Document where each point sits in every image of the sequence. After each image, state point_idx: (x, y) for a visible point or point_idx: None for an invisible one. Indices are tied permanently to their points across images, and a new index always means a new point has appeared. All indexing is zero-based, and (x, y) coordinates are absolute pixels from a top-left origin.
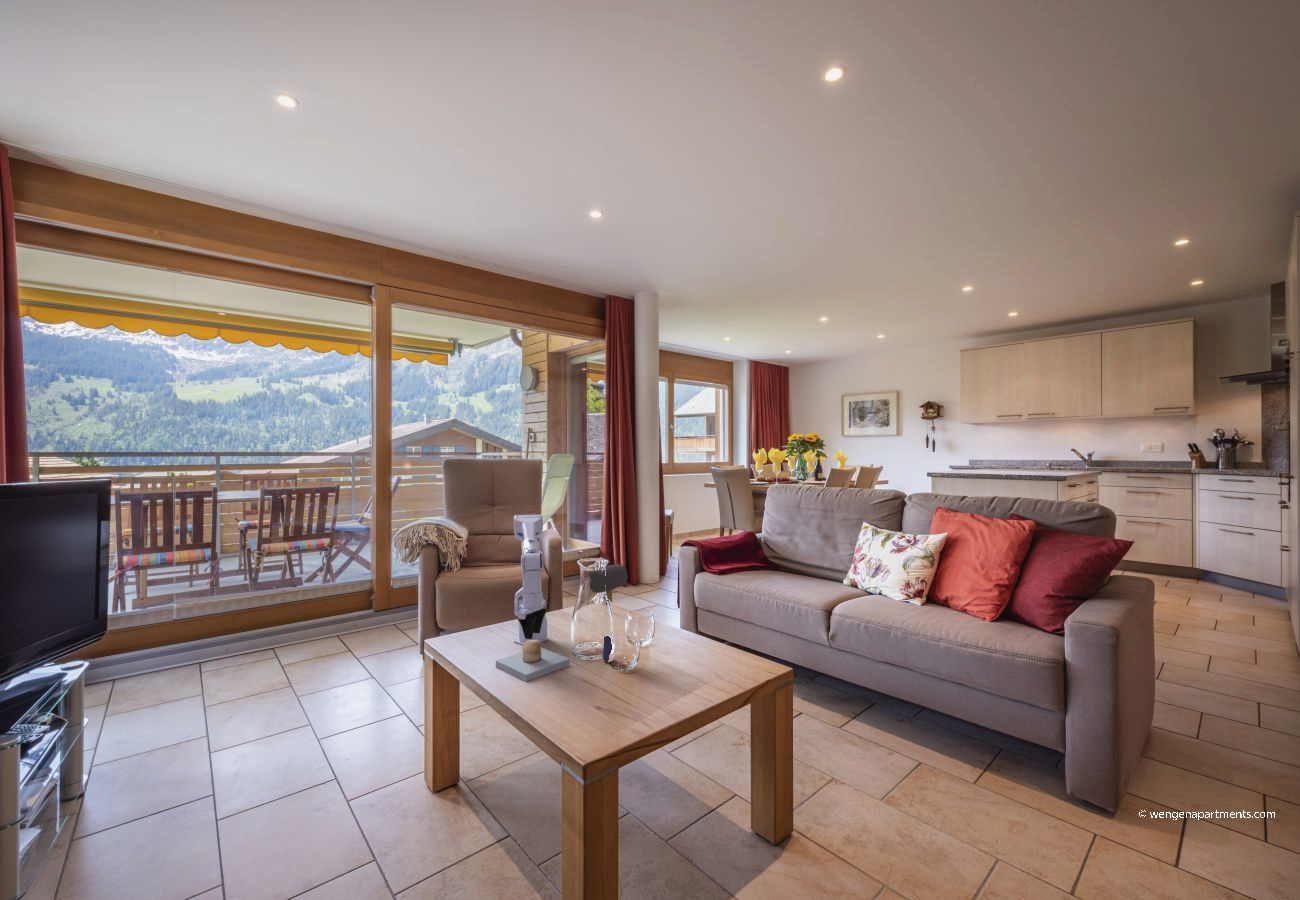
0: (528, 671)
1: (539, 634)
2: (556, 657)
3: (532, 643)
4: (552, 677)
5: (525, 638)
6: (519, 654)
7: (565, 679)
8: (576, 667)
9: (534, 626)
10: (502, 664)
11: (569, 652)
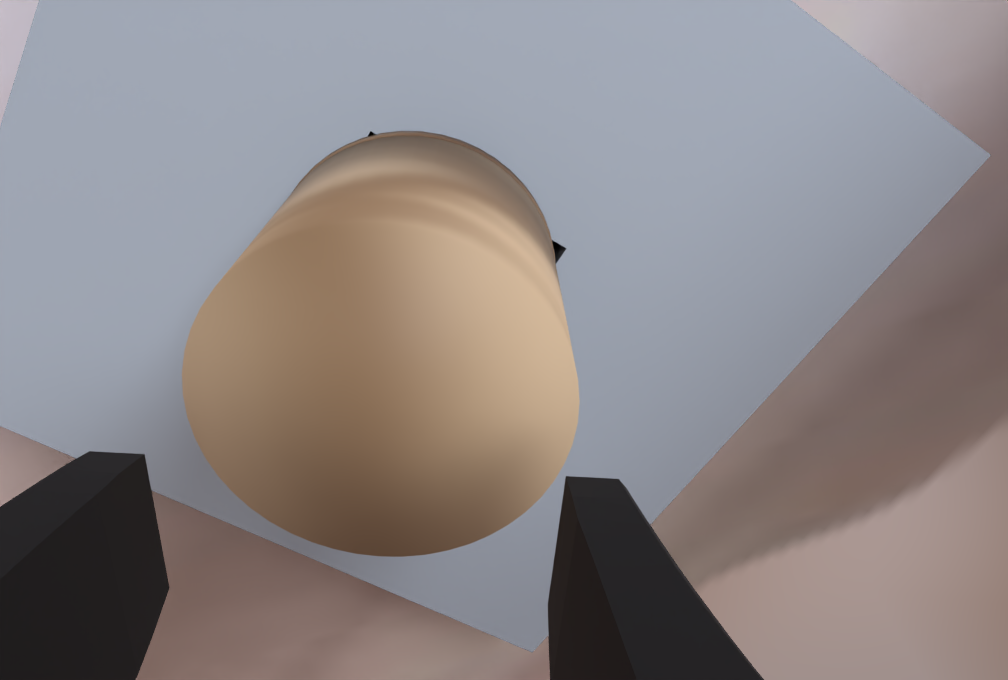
0: (22, 381)
1: None
2: (545, 531)
3: (367, 425)
4: (198, 546)
5: (81, 465)
6: None
7: (202, 650)
8: (488, 656)
9: (588, 658)
10: None
11: (899, 498)
